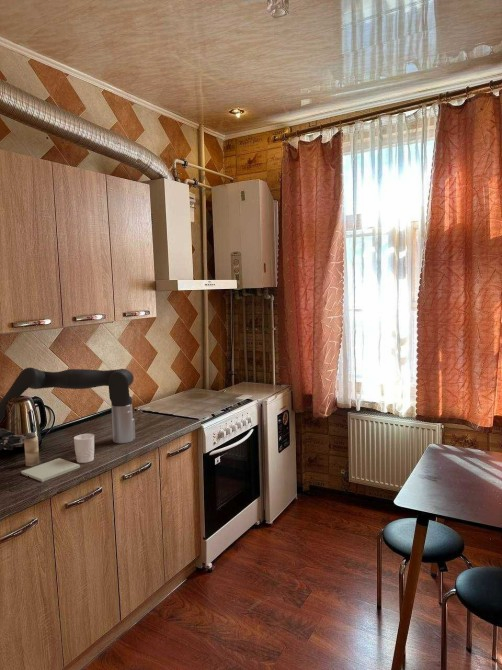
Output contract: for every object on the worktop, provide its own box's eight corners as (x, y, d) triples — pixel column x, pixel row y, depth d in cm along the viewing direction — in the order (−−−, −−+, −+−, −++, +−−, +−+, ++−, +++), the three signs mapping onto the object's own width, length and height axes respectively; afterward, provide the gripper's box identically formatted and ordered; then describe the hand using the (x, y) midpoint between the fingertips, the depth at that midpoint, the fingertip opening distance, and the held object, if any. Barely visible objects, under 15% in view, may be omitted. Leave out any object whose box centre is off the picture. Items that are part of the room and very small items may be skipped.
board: (59, 460, 186) (59, 458, 186) (80, 467, 178) (80, 464, 178) (21, 473, 173) (21, 471, 173) (42, 481, 165) (42, 479, 165)
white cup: (71, 460, 186) (70, 436, 185) (90, 455, 192) (89, 432, 191) (80, 465, 180) (78, 441, 179) (98, 460, 186) (97, 436, 185)
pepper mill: (35, 460, 186) (33, 431, 185) (41, 463, 183) (40, 433, 182) (23, 464, 182) (21, 434, 181) (30, 467, 179) (28, 436, 178)
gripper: (-16, 434, 189) (4, 440, 180) (17, 425, 201) (38, 430, 192) (-15, 451, 190) (5, 458, 181) (18, 441, 201) (39, 448, 192)
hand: (22, 444), depth 186 cm, fingers open, 8 cm apart
